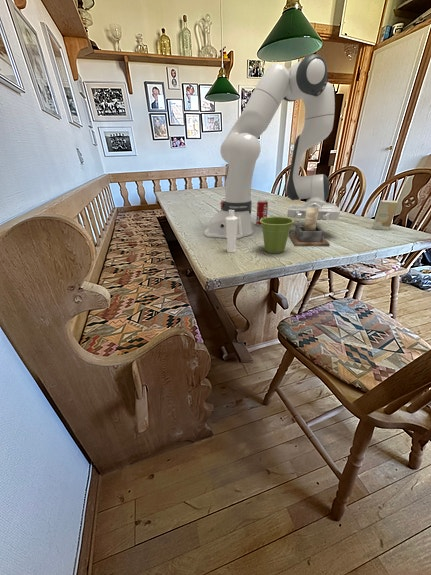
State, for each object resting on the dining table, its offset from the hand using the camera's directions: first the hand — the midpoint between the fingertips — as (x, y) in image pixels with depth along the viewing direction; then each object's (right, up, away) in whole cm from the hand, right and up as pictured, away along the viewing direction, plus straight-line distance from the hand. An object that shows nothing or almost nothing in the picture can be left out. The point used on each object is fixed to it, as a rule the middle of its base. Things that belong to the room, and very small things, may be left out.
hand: (311, 217), depth 97 cm
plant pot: (-16, -14, -4) cm, 21 cm away
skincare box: (+38, -1, +17) cm, 42 cm away
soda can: (-15, +4, +29) cm, 32 cm away
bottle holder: (0, -9, +4) cm, 10 cm away
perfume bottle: (-32, -14, -3) cm, 35 cm away
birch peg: (0, -8, +4) cm, 9 cm away
